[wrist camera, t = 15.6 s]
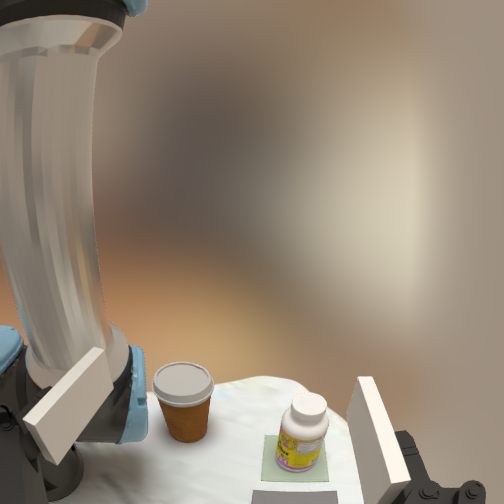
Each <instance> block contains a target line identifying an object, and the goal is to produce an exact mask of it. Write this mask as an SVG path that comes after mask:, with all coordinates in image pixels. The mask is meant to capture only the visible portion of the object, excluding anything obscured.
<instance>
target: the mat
mask: <svg viewBox="0 0 504 504" xmlns="http://www.w3.org/2000/svg"><path fill="white" fill-rule="evenodd" d="M278 437H279V436H274V435H265V441H264V454H263V465H262V477H261V481H277V482H327V481H329V477H328V468H327V460H326V451H325V443H324V441H323V444H322V447H321V450H320V453H319V456H318V458H317V461H316V463H315V464H314V465H313V466H312V467H311V468H309V469H307V470H304V471H300V472H294V471H289V470H286V469H284V468H283V467H281V466H280V465H279V464H278V462H277V460H276V457H275V453H276V447H277V442H278Z"/></svg>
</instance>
